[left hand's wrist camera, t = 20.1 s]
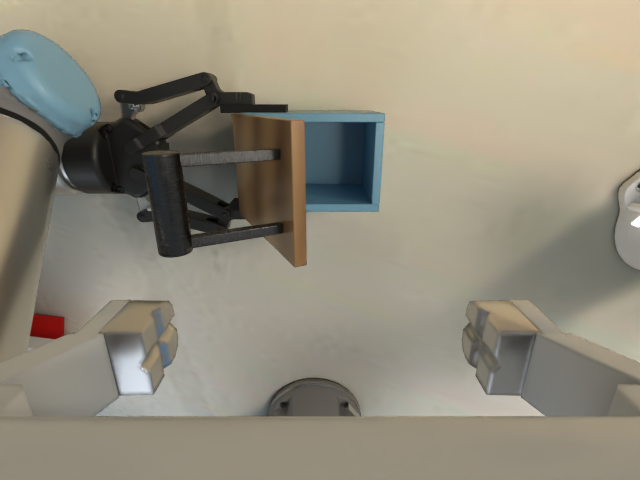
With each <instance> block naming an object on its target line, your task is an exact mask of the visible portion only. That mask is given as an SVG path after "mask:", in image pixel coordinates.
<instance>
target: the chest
mask: <svg viewBox="0 0 640 480" xmlns="http://www.w3.org/2000/svg"><path fill="white" fill-rule="evenodd" d="M241 114H251V115H261V116H271V117H280V118H290V119H300V120H304V121H305V188H306V211H318V212H378V211H379V203H380V187H381V170H382V154H383V137H384V120H385V114H384V113H379V112H374V111H288V112H286V113H255V112H244V113H241Z"/></svg>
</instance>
